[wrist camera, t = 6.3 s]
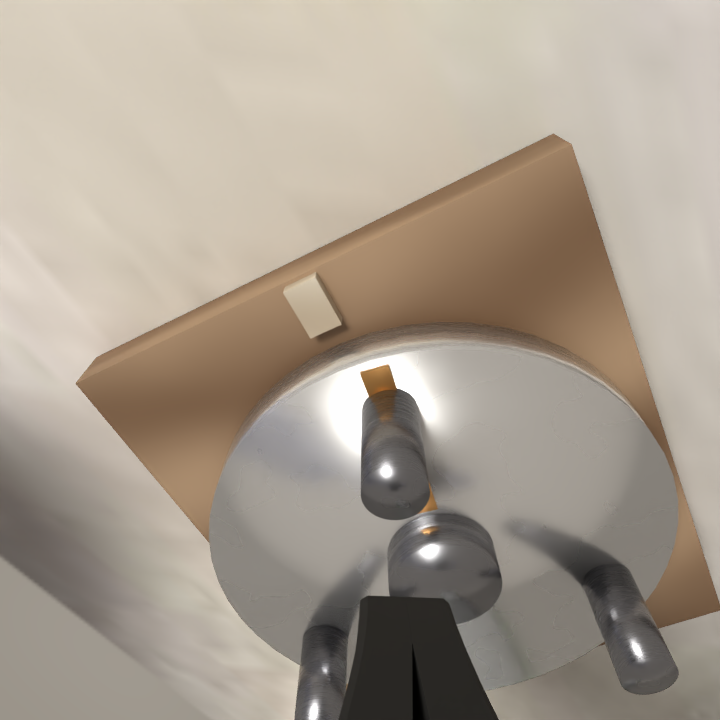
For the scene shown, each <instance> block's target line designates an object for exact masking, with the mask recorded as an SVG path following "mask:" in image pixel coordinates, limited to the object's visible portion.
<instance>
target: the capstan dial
mask: <svg viewBox="0 0 720 720" xmlns="http://www.w3.org/2000/svg"><path fill="white" fill-rule="evenodd" d="M677 527H678V497H677V492H676V486H675V481H674V476H673V474H672V471H671V469H670V466H669V464H668V461H667V459H666V456H665V454H664V452H663V450H662V449H661V447H660V446H659V444H658V443H657V441H656V439H655V438H654V436H653V435H652V433H651V431H650V430H649V429H648V427H647V426H646V424H645V423H644V421H643V420H642V419H641V417H640V416H639V414H638V413H637V411H636V410H635V409H634V407H633V406H632V404H631V403H630V401H629V400H628V399H627V398H626V396H625V395H624V394H623V393H622V392H621V391H620V390H619V389H618V388H617V386H616V385H615V384H614V383H613V382H612V381H611V380H610V379H609V378H608V377H607V376H605V375H604V374H603V373H602V372H600V371H599V370H598V369H597V368H595V367H594V366H593V365H592V364H590V363H589V362H588V361H586V360H584V359H583V358H581V357H579V356H578V355H576V354H574V353H573V352H571V351H569V350H567V349H566V348H564V347H562V346H560V345H557V344H555V343H552V342H550V341H547V340H545V339H543V338H540V337H538V336H535V335H532V334H528V333H525V332H521V331H517V330H513V329H510V328H506V327H501V326H493V325H486V324H479V323H472V322H431V323H421V324H411V325H403V326H398V327H394V328H389V329H385V330H380V331H376V332H371V333H368V334H365V335H363V336H360V337H357V338H354V339H351V340H348V341H346V342H343V343H340V344H338V345H336V346H334V347H332V348H330V349H328V350H326V351H324V352H322V353H320V354H318V355H316V356H314V357H312V358H310V359H309V360H307V361H306V362H305V363H303V364H302V365H300V366H299V367H297V368H296V369H294V370H293V371H291V372H290V373H288V374H287V375H286V376H284V377H283V378H282V379H281V380H280V381H279V382H278V383H277V384H275V385H274V386H273V387H272V388H271V389H270V390H269V391H268V392H266V393H265V395H264V396H263V397H262V398H261V399H260V400H259V402H258V403H257V404H256V405H255V406H254V408H253V409H252V410H251V411H250V412H249V414H248V415H247V417H246V418H245V420H244V422H243V423H242V425H241V427H240V428H239V430H238V431H237V433H236V435H235V437H234V439H233V442H232V444H231V447H230V449H229V451H228V454H227V456H226V459H225V462H224V465H223V469H222V472H221V475H220V478H219V481H218V484H217V487H216V490H215V494H214V499H213V503H212V508H211V512H210V521H209V544H210V551H211V558H212V563H213V566H214V569H215V572H216V575H217V578H218V581H219V583H220V585H221V587H222V589H223V591H224V593H225V595H226V597H227V599H228V601H229V602H230V604H231V605H232V606H233V608H234V609H235V611H236V612H237V613H238V615H239V616H240V618H241V619H242V620H243V621H244V622H245V623H246V624H247V625H248V626H249V627H250V628H251V629H252V630H253V631H254V633H255V634H256V635H257V636H259V637H260V638H261V639H262V640H264V641H265V642H266V643H267V644H269V645H270V646H271V647H272V648H273V649H275V650H276V651H278V652H279V653H281V654H283V655H284V656H286V657H287V658H289V659H290V660H292V661H294V662H295V663H297V664H299V665H300V670H299V680H298V690H297V700H296V710H295V720H338V719H339V716H340V712H341V708H342V705H343V701H344V697H345V693H346V683H347V684H348V682H349V678H350V673H351V669H352V664H353V659H354V655H355V649H356V644H357V632H358V620H359V608H360V600H361V599H363V598H365V597H366V596H394V597H421V598H444V599H445V600H446V601H447V602H448V603H449V604H450V607H451V610H452V613H453V616H454V619H455V622H456V624H457V627H458V630H459V632H460V635H461V637H462V640H463V642H464V645H465V647H466V650H467V652H468V655H469V657H470V659H471V662H472V664H473V666H474V668H475V671H476V673H477V675H478V677H479V680H480V682H481V684H482V686H483V688H484V691H485V690H491V689H495V688H499V687H504V686H508V685H512V684H516V683H519V682H522V681H525V680H529V679H532V678H535V677H538V676H541V675H543V674H545V673H548V672H550V671H552V670H555V669H557V668H560V667H562V666H564V665H566V664H568V663H570V662H572V661H573V660H575V659H577V658H579V657H581V656H583V655H585V654H586V653H588V652H589V651H591V650H592V649H594V648H595V647H597V646H598V645H600V644H601V643H603V642H605V644H606V647H607V650H608V652H609V655H610V657H611V660H612V663H613V665H614V668H615V670H616V673H617V675H618V678H619V681H620V683H621V685H622V687H623V688H624V689H625V690H627V691H628V692H631V693H634V694H642V695H645V694H653V693H657V692H660V691H663V690H665V689H667V688H668V687H670V686H671V685H672V684H673V683H674V682H675V681H676V679H677V677H678V669H677V667H676V665H675V662H674V660H673V658H672V656H671V654H670V652H669V650H668V648H667V646H666V644H665V642H664V640H663V638H662V636H661V634H660V632H659V630H658V627H657V625H656V623H655V621H654V619H653V617H652V615H651V613H650V611H649V609H648V607H647V605H646V603H645V602H646V600H647V599H648V598H649V596H650V595H651V594H652V592H653V591H654V590H655V588H656V586H657V584H658V583H659V581H660V579H661V577H662V575H663V573H664V571H665V570H666V568H667V565H668V562H669V559H670V557H671V554H672V551H673V548H674V545H675V539H676V533H677Z"/></svg>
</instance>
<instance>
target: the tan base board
mask: <svg viewBox="0 0 720 720" xmlns="http://www.w3.org/2000/svg"><path fill="white" fill-rule="evenodd" d="M431 322H472V323H479V324H486V325H493V326H501V327H506V328H510V329H513V330H517V331H521V332H525V333H528V334H532V335H535V336H538V337H540V338H543V339H545V340H547V341H550V342H552V343H555V344H557V345H560V346H562V347H564V348H566V349H567V350H569V351H571V352H573V353H574V354H576V355H578V356H579V357H581V358H583V359H584V360H586V361H588V362H589V363H590V364H592V365H593V366H594V367H595V368H597V369H598V370H599V371H600V372H602V373H603V374H604V375H605V376H607V377H608V378H609V379H610V380H611V381H612V382H613V383H614V384H615V385H616V386H617V388H618V389H619V390H620V391H621V392H622V393H623V394H624V395H625V396H626V398H627V399H628V400H629V401H630V403H631V404H632V406H633V407H634V409H635V410H636V411H637V413H638V414H639V416H640V417H641V419H642V420H643V421H644V423H645V424H646V426H647V427H648V429H649V430H650V431H651V433H652V435H653V436H654V438H655V439H656V441H657V443H658V444H659V446H660V447H661V449H662V450H663V452H664V454H665V456H666V459H667V461H668V464H669V466H670V469H671V471H672V474H673V476H674V481H675V486H676V492H677V497H678V527H677V533H676V539H675V545H674V548H673V551H672V554H671V557H670V559H669V562H668V565H667V568H666V570H665V571H664V573H663V575H662V577H661V579H660V581H659V583H658V584H657V586H656V588H655V590H654V591H653V592H652V594H651V595H650V596H649V598H648V599H647V600H646V602H645V603H646V605H647V607H648V609H649V611H650V613H651V615H652V617H653V619H654V621H655V623H656V625H657V627H658V628H662V627H665V626H668V625H672V624H675V623H679V622H682V621H685V620H689V619H692V618H696V617H699V616H702V615H706V614H709V613H713V612H716V611H719V610H720V604H719V601H718V598H717V594H716V591H715V588H714V585H713V582H712V579H711V576H710V573H709V570H708V567H707V563H706V560H705V557H704V554H703V551H702V548H701V545H700V542H699V539H698V535H697V532H696V529H695V526H694V523H693V520H692V517H691V514H690V511H689V507H688V504H687V501H686V498H685V495H684V492H683V489H682V486H681V483H680V480H679V476H678V473H677V470H676V467H675V464H674V461H673V458H672V455H671V452H670V448H669V445H668V442H667V439H666V436H665V433H664V430H663V427H662V424H661V420H660V417H659V414H658V411H657V408H656V405H655V402H654V399H653V396H652V393H651V389H650V386H649V383H648V380H647V377H646V374H645V371H644V368H643V365H642V361H641V358H640V355H639V352H638V349H637V346H636V343H635V340H634V337H633V333H632V330H631V327H630V324H629V321H628V318H627V315H626V312H625V309H624V306H623V302H622V299H621V296H620V293H619V290H618V287H617V284H616V281H615V278H614V274H613V271H612V268H611V265H610V262H609V259H608V256H607V253H606V250H605V246H604V243H603V240H602V237H601V234H600V231H599V228H598V225H597V222H596V219H595V215H594V212H593V209H592V206H591V203H590V200H589V197H588V194H587V191H586V187H585V184H584V181H583V178H582V175H581V172H580V169H579V166H578V163H577V159H576V156H575V153H574V150H573V147H572V144H570V143H569V142H567V141H565V140H563V139H562V138H560V137H558V136H556V135H555V134H552V135H550V136H548V137H546V138H544V139H542V140H540V141H538V142H536V143H534V144H532V145H530V146H528V147H525V148H523V149H521V150H519V151H517V152H515V153H513V154H511V155H509V156H507V157H505V158H503V159H501V160H499V161H497V162H495V163H493V164H491V165H489V166H487V167H485V168H483V169H480V170H478V171H476V172H474V173H472V174H470V175H468V176H466V177H464V178H462V179H460V180H458V181H456V182H454V183H452V184H450V185H448V186H446V187H444V188H442V189H440V190H438V191H436V192H433V193H431V194H429V195H427V196H425V197H423V198H421V199H419V200H417V201H415V202H413V203H411V204H409V205H407V206H405V207H403V208H401V209H399V210H397V211H395V212H393V213H391V214H389V215H386V216H384V217H382V218H380V219H378V220H376V221H374V222H372V223H370V224H368V225H366V226H364V227H362V228H360V229H358V230H356V231H354V232H352V233H350V234H348V235H346V236H344V237H341V238H339V239H337V240H335V241H333V242H331V243H329V244H327V245H325V246H323V247H321V248H319V249H317V250H315V251H313V252H311V253H309V254H307V255H305V256H303V257H301V258H299V259H297V260H294V261H292V262H290V263H288V264H286V265H284V266H282V267H280V268H278V269H276V270H274V271H272V272H270V273H268V274H266V275H264V276H262V277H260V278H258V279H256V280H254V281H252V282H250V283H247V284H245V285H243V286H241V287H239V288H237V289H235V290H233V291H231V292H229V293H227V294H225V295H223V296H221V297H219V298H217V299H215V300H213V301H211V302H209V303H207V304H205V305H202V306H200V307H198V308H196V309H194V310H192V311H190V312H188V313H186V314H184V315H182V316H180V317H178V318H176V319H174V320H172V321H170V322H168V323H166V324H164V325H162V326H160V327H158V328H155V329H153V330H151V331H149V332H147V333H145V334H143V335H141V336H139V337H137V338H135V339H133V340H131V341H129V342H127V343H125V344H123V345H121V346H119V347H117V348H115V349H113V350H111V351H108V352H106V353H104V354H102V355H100V356H98V357H96V359H95V360H94V361H93V362H92V364H91V365H90V366H89V367H88V369H87V370H86V371H85V372H84V374H83V375H82V376H81V377H80V379H79V380H78V381H77V382H76V385H77V386H78V387H79V388H80V389H81V391H82V392H83V393H84V394H85V395H86V397H87V398H88V399H89V400H90V401H91V402H92V404H93V405H94V406H95V407H96V408H97V410H98V411H99V412H100V413H101V414H102V416H103V417H104V418H105V419H106V420H107V422H108V423H109V424H110V425H111V426H112V428H113V429H114V430H115V431H116V432H117V433H118V435H119V436H120V437H121V438H122V439H123V441H124V442H125V443H126V444H127V445H128V447H129V448H130V449H131V450H132V451H133V453H134V454H135V455H136V456H137V457H138V459H139V460H140V461H141V462H142V463H143V464H144V466H145V467H146V468H147V469H148V470H149V472H150V473H151V474H152V475H153V476H154V478H155V479H156V480H157V481H158V482H159V484H160V485H161V486H162V487H163V488H164V490H165V491H166V492H167V493H168V494H169V495H170V497H171V498H172V499H173V500H174V501H175V503H176V504H177V505H178V506H179V507H180V509H181V510H182V511H183V512H184V513H185V515H186V516H187V517H188V518H189V519H190V521H191V522H192V523H193V524H194V525H195V526H196V528H197V529H198V530H199V531H200V532H201V534H202V535H203V536H204V537H205V538H206V540H207V541H208V542H209V521H210V512H211V508H212V503H213V499H214V494H215V490H216V487H217V484H218V481H219V478H220V475H221V472H222V469H223V465H224V462H225V459H226V456H227V454H228V451H229V449H230V447H231V444H232V442H233V439H234V437H235V435H236V433H237V431H238V430H239V428H240V427H241V425H242V423H243V422H244V420H245V418H246V417H247V415H248V414H249V412H250V411H251V410H252V409H253V408H254V406H255V405H256V404H257V403H258V402H259V400H260V399H261V398H262V397H263V396H264V395H265V393H266V392H268V391H269V390H270V389H271V388H272V387H273V386H274V385H275V384H277V383H278V382H279V381H280V380H281V379H282V378H283V377H284V376H286V375H287V374H288V373H290V372H291V371H293V370H294V369H296V368H297V367H299V366H300V365H302V364H303V363H305V362H306V361H307V360H309V359H310V358H312V357H314V356H316V355H318V354H320V353H322V352H324V351H326V350H328V349H330V348H332V347H334V346H336V345H338V344H340V343H343V342H346V341H348V340H351V339H354V338H357V337H360V336H363V335H365V334H368V333H371V332H376V331H380V330H385V329H389V328H394V327H398V326H403V325H411V324H421V323H431ZM604 644H605V642H603V643H601V644H600V645H604ZM600 645H598V646H600ZM347 686H348V684H347V683H346V690H347Z"/></svg>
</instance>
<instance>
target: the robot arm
mask: <svg viewBox="0 0 720 720" xmlns="http://www.w3.org/2000/svg"><path fill="white" fill-rule="evenodd" d="M338 720H499V719H498V717H497V715H496V713H495V711H494V709H493V707H492V705H491V703H490V701H489V699H488V697H487V695H486V693H485V691H484V688H483V686H482V684H481V682H480V680H479V677H478V675H477V673H476V671H475V668H474V666H473V664H472V662H471V659H470V657H469V655H468V652H467V650H466V647H465V645H464V642H463V640H462V637H461V635H460V632H459V630H458V627H457V624H456V622H455V619H454V616H453V613H452V610H451V607H450V604H449V603H448V602H447V601H446V600H445V599H444V598H421V597H394V596H366V597H365V598H363V599H361V600H360V608H359V620H358V632H357V644H356V649H355V655H354V659H353V664H352V669H351V673H350V678H349V682H348V686H347V690H346V693H345V697H344V701H343V705H342V708H341V712H340V716H339V719H338Z"/></svg>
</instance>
